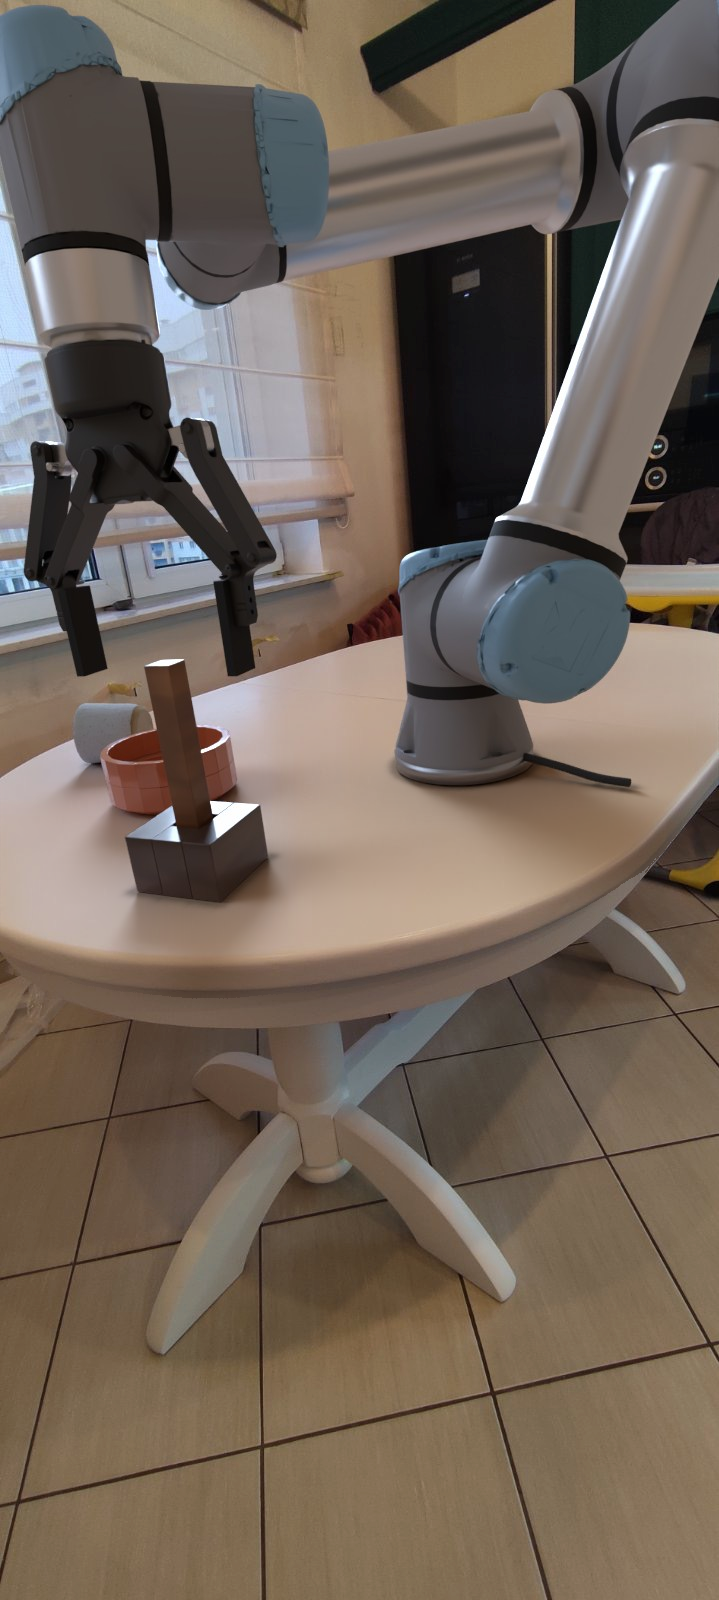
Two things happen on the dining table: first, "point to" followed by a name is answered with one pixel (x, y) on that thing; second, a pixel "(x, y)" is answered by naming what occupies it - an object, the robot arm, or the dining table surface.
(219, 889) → the holder
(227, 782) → the bowl
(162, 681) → the stick
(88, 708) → the ceramic mug
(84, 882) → the dining table surface
